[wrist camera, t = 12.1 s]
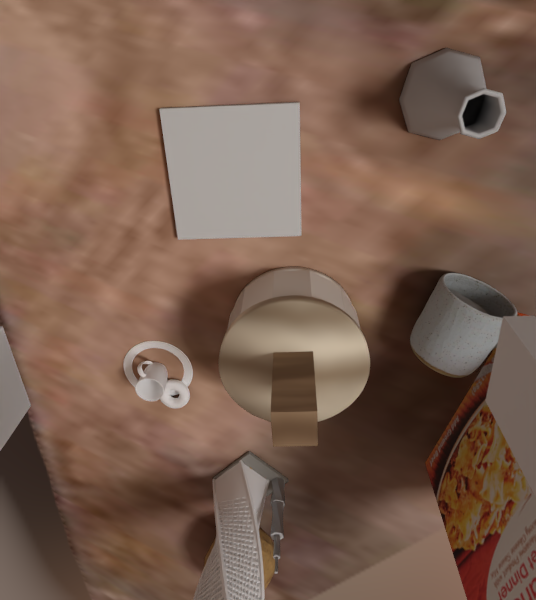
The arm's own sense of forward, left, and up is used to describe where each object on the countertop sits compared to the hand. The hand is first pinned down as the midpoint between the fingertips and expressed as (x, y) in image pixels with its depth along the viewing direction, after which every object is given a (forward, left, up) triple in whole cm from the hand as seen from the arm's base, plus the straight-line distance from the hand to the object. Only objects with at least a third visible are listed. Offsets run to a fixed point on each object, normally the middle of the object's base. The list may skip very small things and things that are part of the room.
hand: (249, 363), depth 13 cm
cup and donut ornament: (+29, -16, -35) cm, 48 cm away
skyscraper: (+44, -6, -35) cm, 56 cm away
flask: (-2, +14, -35) cm, 38 cm away
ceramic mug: (+19, +18, -35) cm, 44 cm away
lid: (+20, +1, -29) cm, 35 cm away
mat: (+4, -4, -35) cm, 35 cm away
